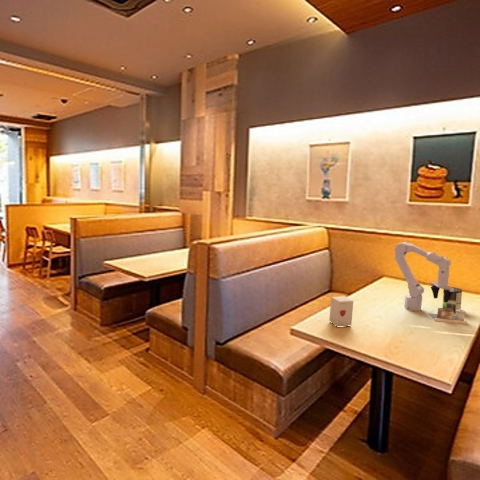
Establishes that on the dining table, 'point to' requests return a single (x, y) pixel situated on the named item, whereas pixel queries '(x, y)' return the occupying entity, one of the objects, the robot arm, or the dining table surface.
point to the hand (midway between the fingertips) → (440, 300)
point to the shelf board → (446, 319)
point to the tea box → (445, 313)
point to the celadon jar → (460, 315)
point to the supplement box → (341, 311)
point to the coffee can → (453, 300)
